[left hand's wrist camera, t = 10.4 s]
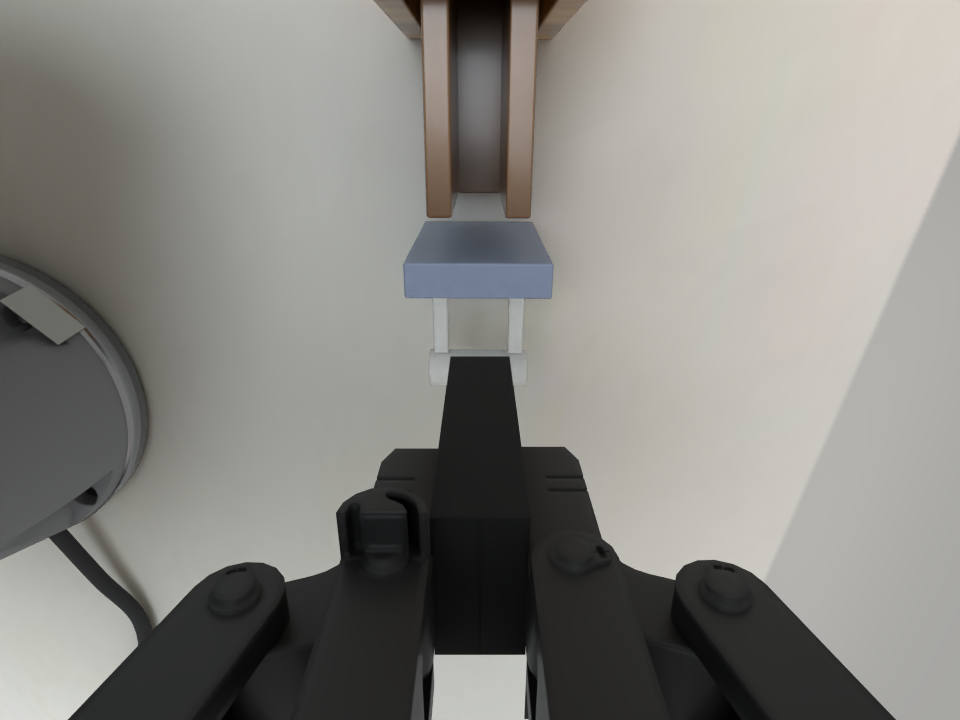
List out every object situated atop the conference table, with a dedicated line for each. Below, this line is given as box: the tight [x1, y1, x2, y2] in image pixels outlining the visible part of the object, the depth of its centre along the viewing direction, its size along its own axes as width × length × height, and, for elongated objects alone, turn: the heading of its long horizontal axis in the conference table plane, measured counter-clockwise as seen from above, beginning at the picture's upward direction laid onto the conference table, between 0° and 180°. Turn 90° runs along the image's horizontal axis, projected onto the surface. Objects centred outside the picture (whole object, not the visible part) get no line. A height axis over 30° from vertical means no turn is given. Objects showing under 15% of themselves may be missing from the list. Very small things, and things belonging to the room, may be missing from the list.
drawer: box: [403, 0, 553, 386], centre depth 20 cm, size 24×5×8 cm, turn 0°
